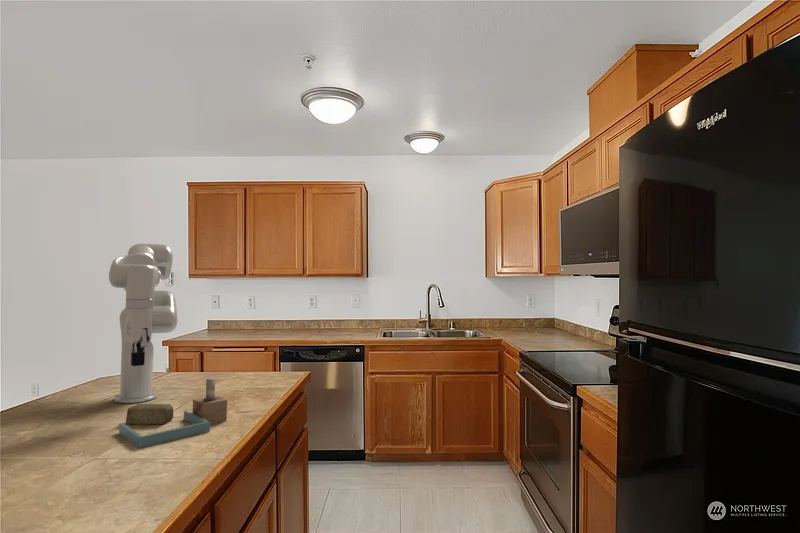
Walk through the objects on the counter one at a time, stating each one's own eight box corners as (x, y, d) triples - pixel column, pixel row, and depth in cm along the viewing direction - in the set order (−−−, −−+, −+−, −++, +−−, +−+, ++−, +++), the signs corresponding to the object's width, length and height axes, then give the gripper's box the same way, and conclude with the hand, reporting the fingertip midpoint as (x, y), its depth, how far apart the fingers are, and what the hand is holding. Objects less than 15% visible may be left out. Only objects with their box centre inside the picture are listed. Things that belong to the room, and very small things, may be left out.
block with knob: (192, 420, 132) (193, 379, 132) (215, 415, 137) (216, 375, 138) (202, 425, 127) (204, 382, 128) (226, 420, 133) (227, 379, 133)
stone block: (165, 426, 127) (165, 408, 127) (123, 426, 127) (124, 408, 127) (174, 419, 133) (175, 402, 133) (134, 419, 132) (135, 402, 133)
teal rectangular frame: (119, 433, 120) (119, 423, 120) (186, 418, 133) (186, 410, 133) (139, 447, 110) (139, 437, 110) (209, 431, 123) (210, 421, 123)
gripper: (118, 304, 140) (115, 363, 139) (134, 306, 130) (132, 370, 129) (144, 303, 146) (142, 360, 145) (162, 305, 136) (160, 367, 135)
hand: (137, 365), depth 137 cm, fingers closed
